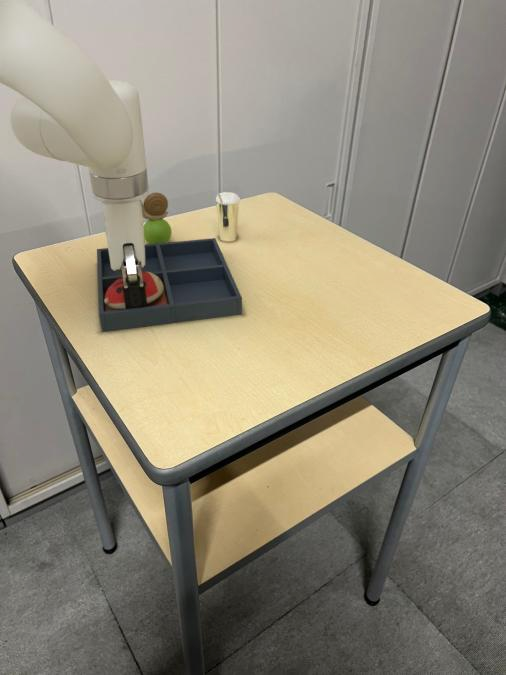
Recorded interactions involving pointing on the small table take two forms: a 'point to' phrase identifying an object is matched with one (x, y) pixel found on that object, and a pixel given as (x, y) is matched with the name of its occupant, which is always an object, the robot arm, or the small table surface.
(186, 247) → the four-compartment sorting tray
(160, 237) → the snail figurine
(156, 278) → the ladybug figurine
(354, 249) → the small table surface
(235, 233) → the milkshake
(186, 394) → the small table surface
